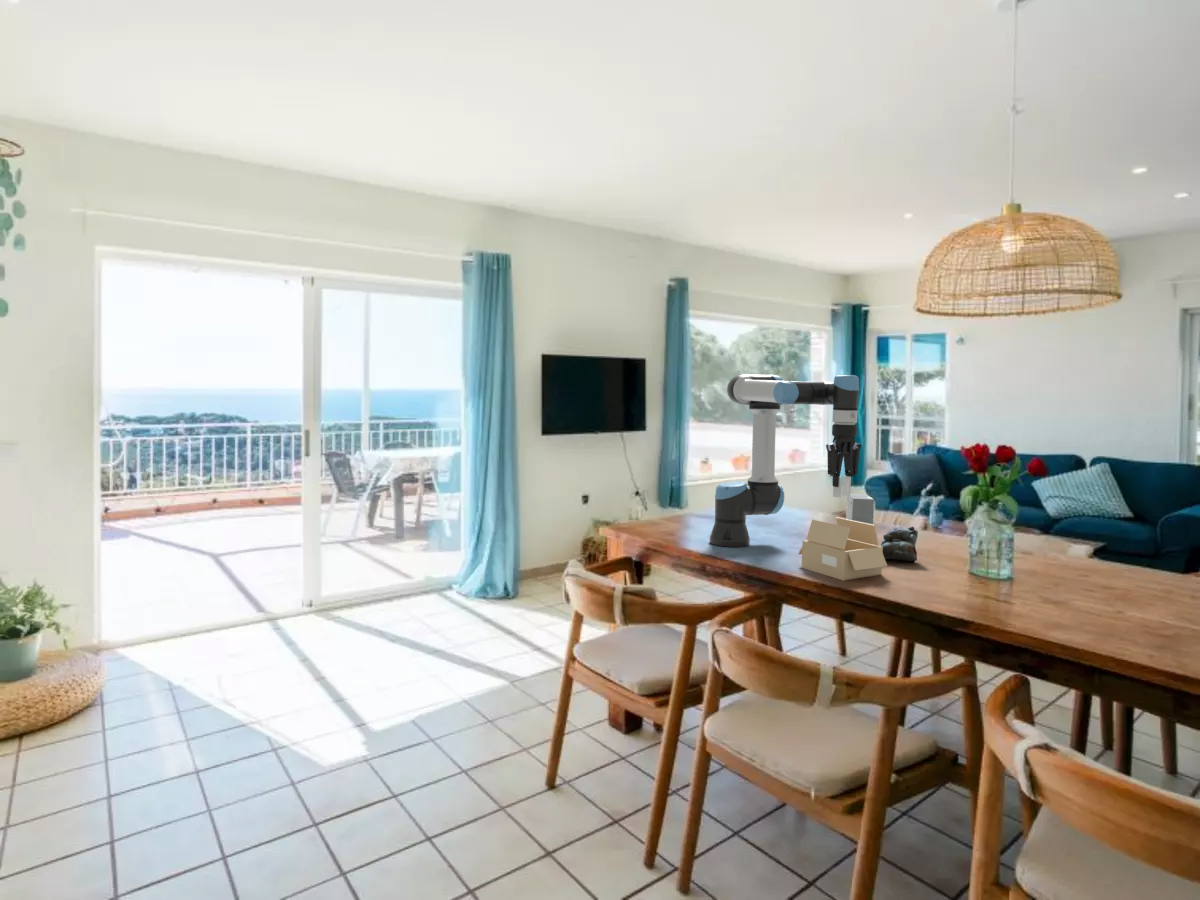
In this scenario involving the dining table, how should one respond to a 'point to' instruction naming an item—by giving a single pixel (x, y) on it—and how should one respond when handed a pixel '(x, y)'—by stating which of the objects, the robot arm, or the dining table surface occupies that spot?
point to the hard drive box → (860, 508)
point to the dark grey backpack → (900, 544)
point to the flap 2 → (859, 531)
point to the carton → (843, 559)
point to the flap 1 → (828, 534)
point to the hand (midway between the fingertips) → (841, 496)
